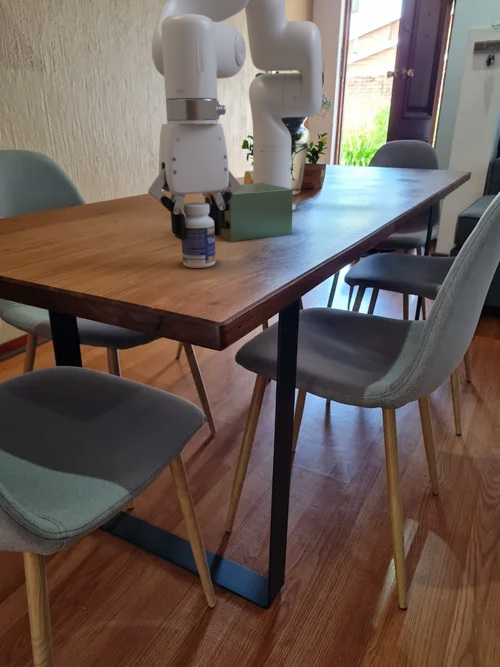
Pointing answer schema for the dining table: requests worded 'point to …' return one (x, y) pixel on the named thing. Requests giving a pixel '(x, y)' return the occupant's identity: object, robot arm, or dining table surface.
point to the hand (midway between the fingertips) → (197, 234)
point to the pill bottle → (198, 236)
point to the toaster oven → (257, 212)
